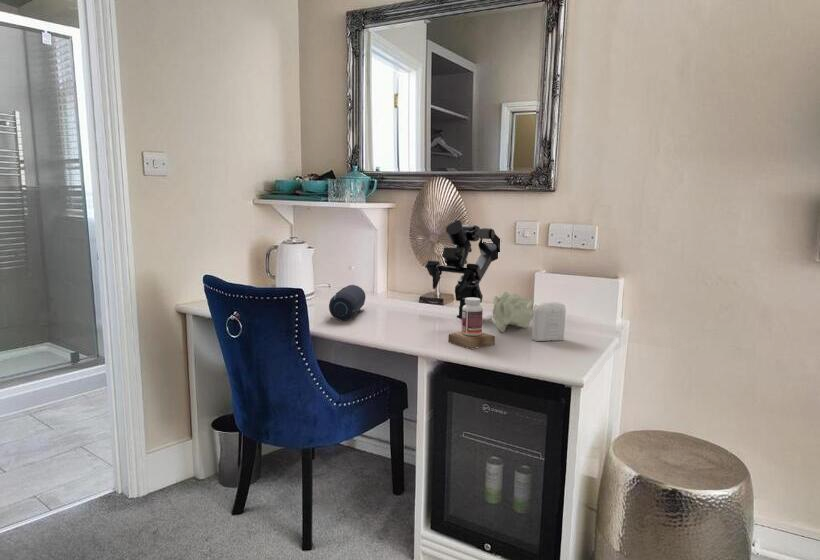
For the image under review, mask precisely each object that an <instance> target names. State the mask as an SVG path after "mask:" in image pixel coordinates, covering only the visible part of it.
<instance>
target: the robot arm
mask: <svg viewBox="0 0 820 560" xmlns="http://www.w3.org/2000/svg"><path fill="white" fill-rule="evenodd" d="M445 232H446V234H447V237H448V239H449V241H450V243H451V244H452V245H453V247H443V250H442V255H441V257H442V258H444V263H445V265H444V264H440V261H439V260H431V259H430V260H428V261H427V262H426V264H425V267H426V269H427V271H428V272H427V273H428V274H429V276H431V277H432V289H433V290H435V289H436V288H437V286H438V284H439V282H440V279H441V275H442V274H443V273H442V272H447V273H453V274H462V275H461V276H460V279H458V280H457V283H456V285H455V287H454V295H455V301H456V302H459V307H458V314H457V315H456V318H460V319H462V308H463V306H464V305H466V303H465V298H468V297H474V298H480V304H482V302H483V294H482V291H481V288H480V285H479V284H480V282H481V281H482V279H483V277H484V276H485V274H486V272H487V270H488V268H489V266H490V265H491V263H492V262H495V261H496V260H498V259H499V258H498V252H500V239H501V238H500V237H499V236H498V235H497V234H496V233H495V230H494V229H493V228H488V227H487V228H486V227H482V228H480V227H479V225H474V224H462V221H461V220H460V219H459V220H458V219H455V220H454V222H452V223H449V224H448V225H447V226H446V228H445ZM484 239H485V240H486V239H487V240H491V241H490V242H493V243H486V242H484V241H483V243H482V240H484ZM478 241H479V242H478ZM472 242H473V243H474V242H478V244H477V245H478V249H479V253H480V255H479V257H478V258H477V260H476V262H475V263H468V260H467V259H468V255H469V253H472V249H473V248H472V244H471V243H472ZM465 265H466V266H465Z"/></svg>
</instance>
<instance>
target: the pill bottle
mask: <svg viewBox="0 0 820 560" xmlns="http://www.w3.org/2000/svg"><path fill="white" fill-rule="evenodd" d="M465 303H466V305H464V306H463V308H462V318H461V331H462V333H463V334H464V335H468V336H478V335H481V334H482V333H483V311H484V310H483V309H484V308H483V307H482V305H480V304H481V303H480V298H474V297H468V298H465Z"/></svg>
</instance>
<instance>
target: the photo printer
mask: <svg viewBox="0 0 820 560" xmlns="http://www.w3.org/2000/svg"><path fill="white" fill-rule="evenodd" d="M533 310H534V312H533V318H532V328H531V329H532V330H531V339H532V340H533V341H535V342H541V341H542V342H544V341H546V342H548V341H549V342H550V341H551V340H552V341H564V337H565V323H566V305H565V304H563V303H562V302H558V301H548V300H547V301H542V302H538V303H536V304H535V305H534V307H533Z"/></svg>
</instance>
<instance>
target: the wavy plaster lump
mask: <svg viewBox="0 0 820 560" xmlns="http://www.w3.org/2000/svg"><path fill="white" fill-rule="evenodd" d="M492 299H493V309H492V315H491V316H492V317H491V321H492V323H493V324H494V325H495V326H496V327H497V329H498V331H499V332H500V333H504V332H505V330H506V327H508V325H510V326H511V325H513V326H515V327H518V328H524V329H526V328H528V326H529V325H530V323H531V322H532V321H533V312H534V309H531V307H532V303H533V300H532V299H530V298H528V297H521V296H519V295H518V294H510V293H509V292H507V291H503V292H502V293H501V294H500V295H499V297H498V296H496V295H495V296H494V298H492Z"/></svg>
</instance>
